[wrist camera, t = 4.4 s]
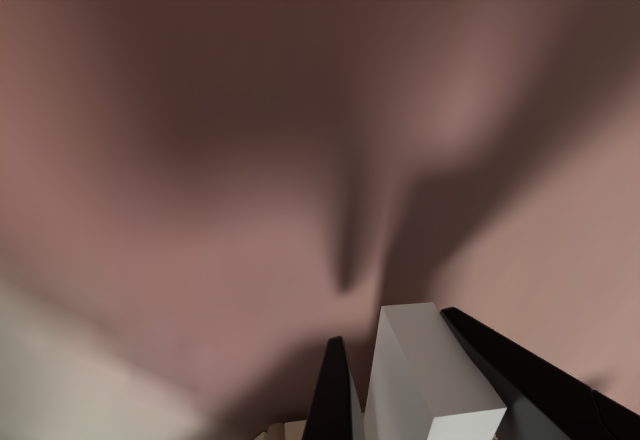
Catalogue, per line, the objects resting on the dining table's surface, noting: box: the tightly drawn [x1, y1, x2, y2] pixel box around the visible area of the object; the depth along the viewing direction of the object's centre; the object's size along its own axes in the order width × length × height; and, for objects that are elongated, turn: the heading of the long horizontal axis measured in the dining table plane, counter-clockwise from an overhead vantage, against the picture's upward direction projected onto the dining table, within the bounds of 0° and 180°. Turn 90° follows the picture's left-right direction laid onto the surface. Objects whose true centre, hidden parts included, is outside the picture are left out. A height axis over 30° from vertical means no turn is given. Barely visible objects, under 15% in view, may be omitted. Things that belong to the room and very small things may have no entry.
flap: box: [268, 302, 507, 440], centre depth 9 cm, size 6×7×4 cm
